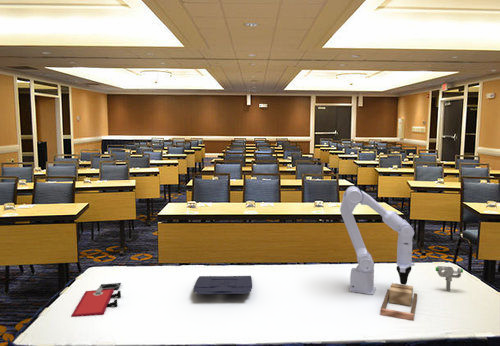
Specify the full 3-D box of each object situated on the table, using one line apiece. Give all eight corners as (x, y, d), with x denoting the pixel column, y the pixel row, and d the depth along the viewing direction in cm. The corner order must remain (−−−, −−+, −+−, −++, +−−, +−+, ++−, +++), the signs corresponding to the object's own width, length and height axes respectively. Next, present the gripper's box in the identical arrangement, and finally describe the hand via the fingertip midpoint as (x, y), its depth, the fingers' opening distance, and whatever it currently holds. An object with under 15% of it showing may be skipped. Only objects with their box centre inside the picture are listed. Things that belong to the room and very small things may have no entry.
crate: (389, 302, 165) (389, 288, 164) (391, 294, 172) (391, 281, 171) (411, 305, 161) (411, 292, 161) (412, 298, 169) (413, 284, 168)
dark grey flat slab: (190, 301, 164) (190, 291, 164) (198, 282, 194) (198, 274, 194) (253, 300, 165) (252, 291, 165) (251, 281, 195) (251, 273, 195)
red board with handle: (125, 284, 185) (90, 287, 183) (125, 278, 185) (89, 281, 183) (114, 315, 156) (71, 319, 154) (113, 308, 155) (71, 311, 153)
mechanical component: (462, 292, 174) (463, 269, 173) (435, 291, 176) (436, 267, 175) (460, 290, 177) (461, 267, 176) (434, 288, 179) (435, 265, 178)
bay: (380, 314, 155) (380, 309, 154) (387, 293, 174) (387, 289, 173) (413, 320, 150) (413, 315, 150) (417, 298, 169) (417, 293, 169)
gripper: (413, 258, 165) (412, 291, 166) (416, 248, 178) (415, 279, 179) (394, 256, 168) (393, 288, 169) (398, 246, 181) (397, 277, 182)
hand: (403, 283), depth 174 cm, fingers closed
